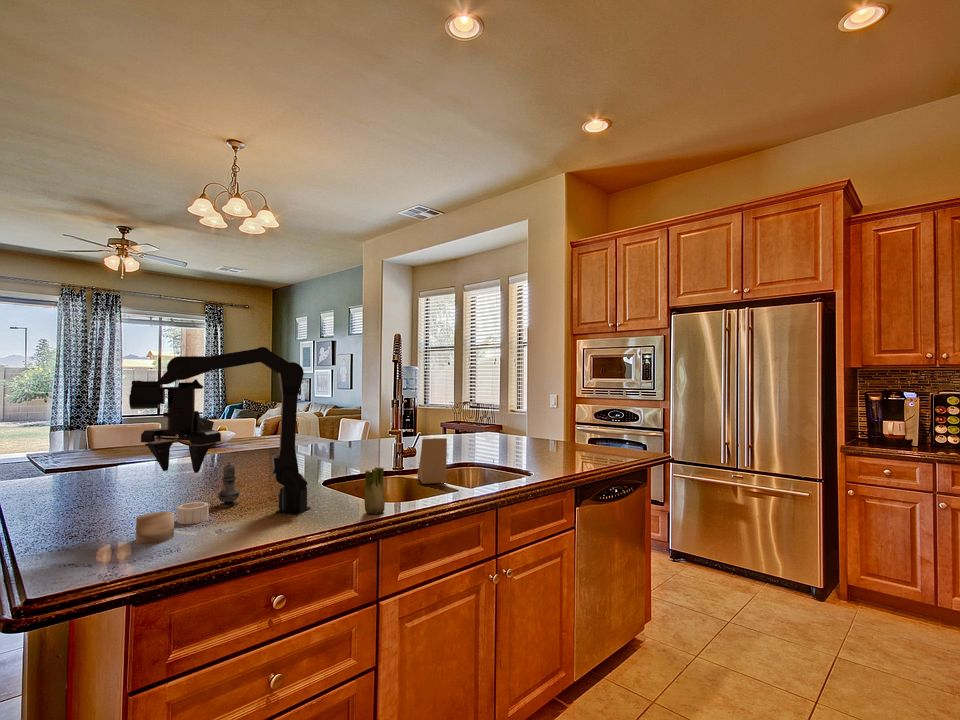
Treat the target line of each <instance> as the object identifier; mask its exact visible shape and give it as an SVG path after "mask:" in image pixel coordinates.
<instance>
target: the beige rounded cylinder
mask: <svg viewBox="0 0 960 720" xmlns="http://www.w3.org/2000/svg"><path fill="white" fill-rule="evenodd" d="M174 530H175V513H174V512H171V511H156V512H150V513H149V512H148V513H144V514H142V515H139V516H137V517H136V519H135V543H136V544H140V545H151V544H159V543H163V542H167V541H170V540H171V539H173V538H174V537H175V533H174Z"/></svg>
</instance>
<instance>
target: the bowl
mask: <svg viewBox="0 0 960 720" xmlns="http://www.w3.org/2000/svg"><path fill="white" fill-rule="evenodd" d="M209 505H210V504H209V503H208V502H206V501H194V502H187V503H183V504H180V505H178V506H177V507H176V522H177V523H178V524H182V525H190V524H198V523H203V522H205V521H208V520H209V516H210V515H209V510H210V508H209Z"/></svg>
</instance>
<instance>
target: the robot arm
mask: <svg viewBox="0 0 960 720" xmlns="http://www.w3.org/2000/svg"><path fill="white" fill-rule="evenodd" d="M258 363H261V364H263V365H264V366H265V367H267V368H269V369H270V370H272V371H273V372H275V373H276V374H277V375H278V380H279V387H280V392H281V409H280V410H281V411H280V429H279V430H280V431H279V448H278V451H277V454H272V455H271V460H272V465H271V467H270V472H271V473H272V475H274V477H275V480H276V482H278V484H280V485H282V486H283V487H280V488H279V493H278V510H276V511H275V514H282V515H283V514H284V515H293V516H295V515H299V514H301V513H304V512H307V511H308V510H311V506H308V481H307V480H306V478H305V477H304V476H303V474H301V473H300V471H299V465H298V463H299V462H298V457H297V453H296V436H297V435H296V434H297V413H298V412H297V410H298V408H297V407H298V397H299V393H300V390H301V386H302V383H303V378H304V374H305V373H304V369H303V367H302V366H301V365H300V364H299V363H297V362H293V361H292V362H291V361H290V362H289V361H287V360H286V359H284V358H283V357H280V356H279V355H278V354H276V353H275V352H272V351H271V350H270V349H269V348H268V347H265V346H261V347H258V348H253V349H247V350H241V351H240V350H239V351H234V352H228V353H222V354H215V355H209V356H207V355H205V356H203V355H202V356H198V355H197V356H196V355H194V356H188V355H187V356H186V355H185V356H184V355H183V356H182V355H181V356H175V357H173V358H171V359H170V360H169V361H168V363H167V365H166V371H165V373H163V375H162V376H161V377H159V380H148V381H147V380H132V381H131V388H130V394H129V396H128V397H129V398H128V402H129V403H128V404H129V408H130V410H148V409H149V410H153V409H159V408H161V407H160V406H161V405H164V404H166V390H167V411H166V412H163V416H162V417H163V418H167V419H166V420H167V428H161V427H160V428H159V427H158V428H154V429H153V428H152V429H147V430H146V429H145V430H143V431H142V433H141V434H140V443H144V446H145V447H147V448H148V449H149V450H150V452H151V453H152V455H153V456H154V457H155V459H156V461H157V463H158V465H159V466H160V468H161V470H162V471H163V472H167V471H168V470H169V466H170V453H171V452H170V449H171V447H172V446H173V444H174V442H175V441H189V443H190V444H191V445H188V449H189V451H188V452H189V455H190V460H191V461H190V462H191V467H192V470H193V473H194V474H197V473H199V472H200V471H201V467H202V464H203V462H204V460H205V457H206V455H207V453H208V451H209V450H210V449H211V448H212V447H213V446H216V445H217V443H219V442H220V443H221V441H222V433H221V432H220V431H219V430H217V429H213V427H214V425H215V424H214V423H215V421H212V420H209V419H207V418H203V417H200V411H198V410H195V408H196V407H195V406H196V405H195V402H196V401H195V399H196V398H195V397H196V390H199V389H200V390H202V389H203V388H204V385H203V384H201V383H200V382H199V381H198V379H197V378H196V379H194V380H193V381H191V382H190V381H189V382H185V380H188V379H190V378H193V377H197V376H200V375H202V374H206V373H209V372H211V371H216V370H222V369H227V368H233V367H239V366H247V365H250V364H251V365H252V364H258ZM176 381H182V382H177V383H178V384H177V386H163V385H170V384H172V383H175V382H176ZM183 381H184V382H183Z"/></svg>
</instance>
